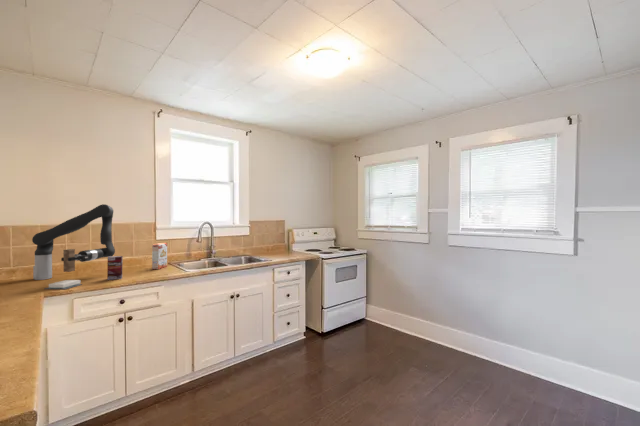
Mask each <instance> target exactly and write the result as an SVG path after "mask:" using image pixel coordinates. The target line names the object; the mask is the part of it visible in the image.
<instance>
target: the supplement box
mask: <svg viewBox="0 0 640 426" xmlns="http://www.w3.org/2000/svg"><path fill="white" fill-rule="evenodd" d="M106 271H107V274H106V275H107V276H106V277H107V281H109V280H110V281H111V280H122V279H123V255H119V256H118V255H116V256H114V255H113V256H111V257H107V270H106Z"/></svg>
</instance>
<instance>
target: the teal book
mask: <svg viewBox="0 0 640 426" xmlns="http://www.w3.org/2000/svg"><path fill="white" fill-rule="evenodd" d="M78 284H81V279H66V280H65V279H64V280H60V281H55V282H53V283H48V287H50V288H66V287H70V286H74V285H78Z"/></svg>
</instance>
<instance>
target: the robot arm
mask: <svg viewBox="0 0 640 426" xmlns="http://www.w3.org/2000/svg"><path fill="white" fill-rule="evenodd" d="M113 217H114V208H113V207H112V206H110V205H108V204H99V205H98V206H95V207H94V208H92V209H91V210H89V211H87V212H85V213H81V214H79V215H77V216H74V217H72V218H70V219H68V220H66V221H63V222H61V223H59V224H58V225H55V226H54V227H51V228H49V229H47V230H43V231H41V232H37V233H36V234H34V235H33V236H32V239H31V241H32V244H34V245H36V249H35V251H34V265H33V266H32V268H33V269H32V271H33V274H32V275H33V280H34V281H40V280H47V279H48V280H49V279H51V278H53V250H54V240H55V239H57V238H60V237H62V236H65V235H68V234H69V235H70V234H72V233H74V232H77V231H79V230H81V229H83V228H85V227H86V226H87V225H88V224H90V223H92V221H94V220H97V219H99V218H101V222H102V223H101V224H102V225H101V229H100V233H99V234H100V239H99V240H100V244H101V245H102V246H103V245H105V247H102V248H95V249H87V250H80V251H79V252H78V253H77V254H75V257H70V258H68V261H73V260H75V262H77V261H79V262H81V263H85V262H90V261H94V260H99V259H101V258H102V259H103V258H108V257H112V256H114V255H115V254H116V248H115V246H114V243H113V234H112V231H113V230H112V228H113V227H112V226H113ZM63 261H64V258H63V257H61V262H63Z"/></svg>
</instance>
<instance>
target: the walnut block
mask: <svg viewBox="0 0 640 426" xmlns="http://www.w3.org/2000/svg"><path fill="white" fill-rule="evenodd" d="M75 251H76V248H67V249H63V253H62V254H63V257H62V258H64V261H62V262H63V273H64V272H66V273H70V272H74V271H75V270H76V261H75V260H73V261H68V258H70V257H75V253H76V252H75Z"/></svg>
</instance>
